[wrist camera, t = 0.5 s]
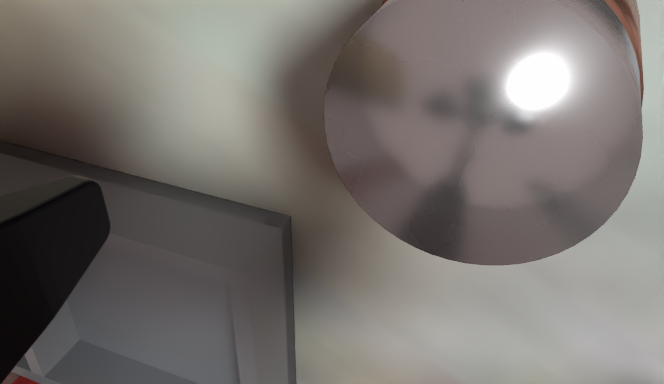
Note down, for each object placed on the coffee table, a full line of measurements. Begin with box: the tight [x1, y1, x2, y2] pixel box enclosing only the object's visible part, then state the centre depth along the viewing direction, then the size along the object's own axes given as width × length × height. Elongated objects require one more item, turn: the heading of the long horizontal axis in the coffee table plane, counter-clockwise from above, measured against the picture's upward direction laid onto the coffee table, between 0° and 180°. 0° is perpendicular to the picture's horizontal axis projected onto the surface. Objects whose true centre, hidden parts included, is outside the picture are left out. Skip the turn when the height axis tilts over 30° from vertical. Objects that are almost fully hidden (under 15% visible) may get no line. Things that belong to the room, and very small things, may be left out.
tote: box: [0, 141, 296, 384], centre depth 29 cm, size 13×21×4 cm, turn 90°
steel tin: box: [324, 0, 644, 265], centre depth 13 cm, size 6×6×7 cm
